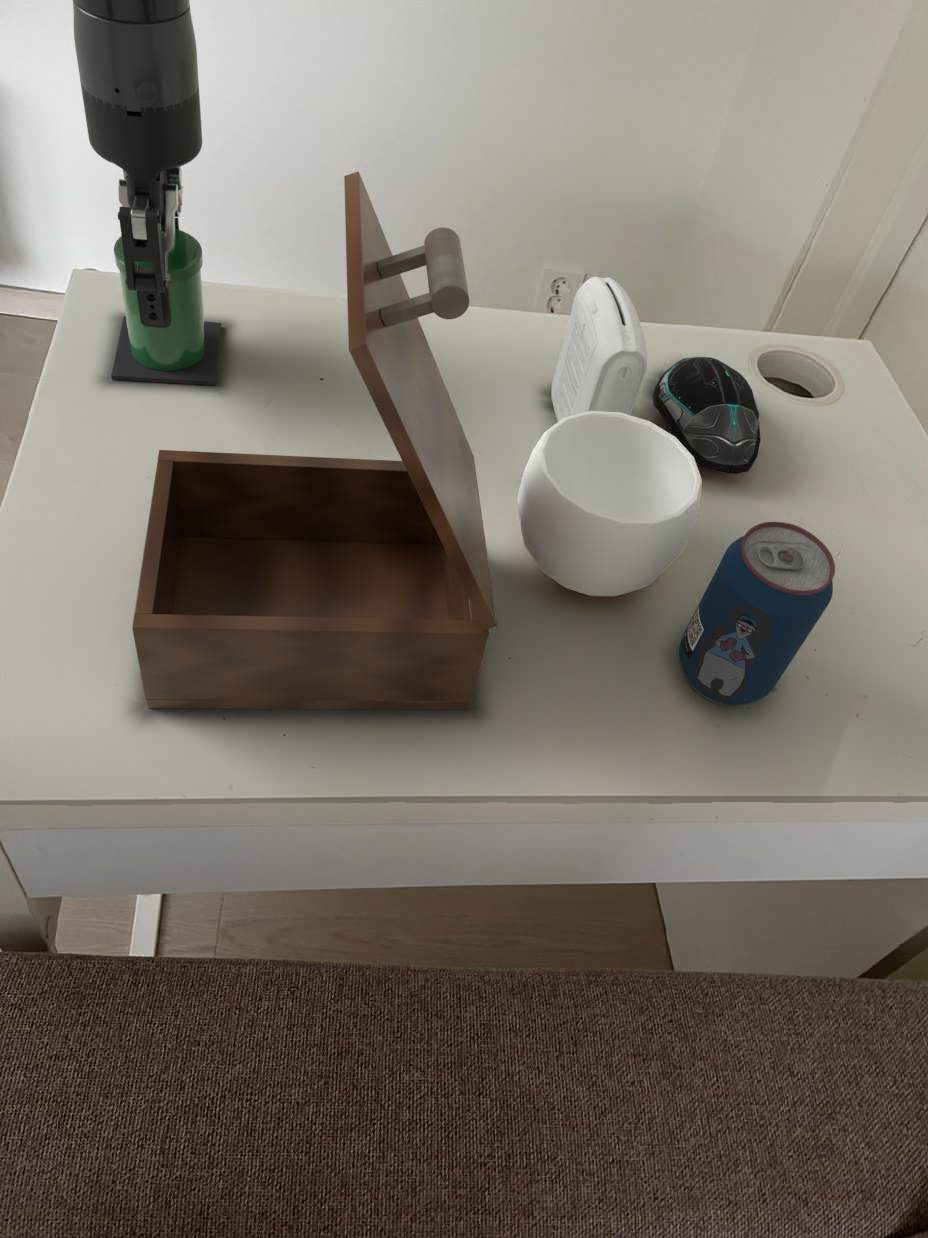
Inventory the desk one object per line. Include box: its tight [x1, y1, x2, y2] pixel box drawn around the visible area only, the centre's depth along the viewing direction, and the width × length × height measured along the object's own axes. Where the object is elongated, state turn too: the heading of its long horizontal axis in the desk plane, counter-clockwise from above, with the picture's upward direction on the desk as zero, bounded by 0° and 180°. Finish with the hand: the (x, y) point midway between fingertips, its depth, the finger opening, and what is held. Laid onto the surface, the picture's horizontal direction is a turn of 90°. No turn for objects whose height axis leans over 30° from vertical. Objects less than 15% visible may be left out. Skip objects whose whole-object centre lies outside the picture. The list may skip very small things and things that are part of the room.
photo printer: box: [550, 275, 648, 423], centre depth 79 cm, size 10×4×12 cm, turn 8°
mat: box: [111, 315, 222, 386], centre depth 82 cm, size 8×8×1 cm
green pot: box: [113, 229, 206, 371], centre depth 79 cm, size 6×6×9 cm
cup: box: [516, 411, 703, 597], centre depth 70 cm, size 12×12×10 cm
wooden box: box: [131, 449, 490, 711], centre depth 64 cm, size 20×14×8 cm
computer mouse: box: [652, 356, 762, 475], centre depth 84 cm, size 9×17×6 cm, turn 1°
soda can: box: [678, 521, 836, 706], centre depth 65 cm, size 7×7×12 cm
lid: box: [343, 171, 498, 630], centre depth 54 cm, size 21×14×5 cm
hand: (162, 292), depth 78 cm, fingers open, 8 cm apart
